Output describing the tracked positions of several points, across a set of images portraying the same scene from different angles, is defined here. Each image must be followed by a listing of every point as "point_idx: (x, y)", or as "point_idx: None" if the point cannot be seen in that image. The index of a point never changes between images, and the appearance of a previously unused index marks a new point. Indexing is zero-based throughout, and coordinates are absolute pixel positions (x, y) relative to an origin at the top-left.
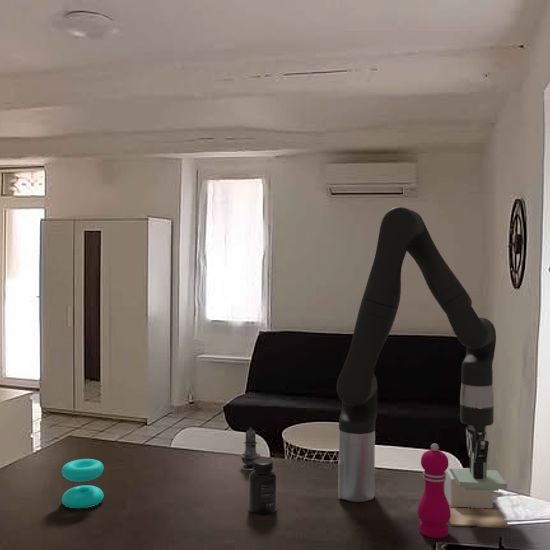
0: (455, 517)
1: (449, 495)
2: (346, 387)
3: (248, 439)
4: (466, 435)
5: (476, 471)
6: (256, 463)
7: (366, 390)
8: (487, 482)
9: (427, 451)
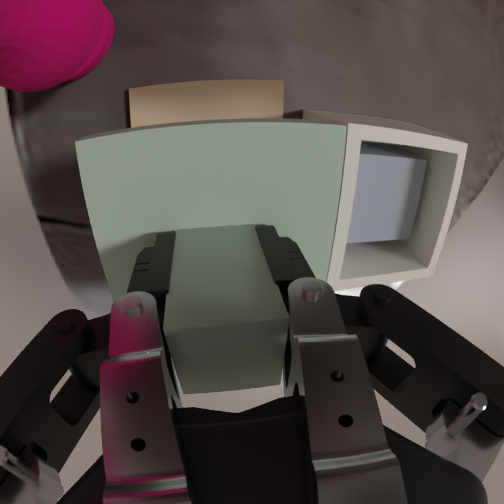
0: (191, 106)
1: (345, 115)
2: None
3: None
4: (483, 367)
5: (133, 270)
6: None
7: None
8: (115, 288)
9: None
